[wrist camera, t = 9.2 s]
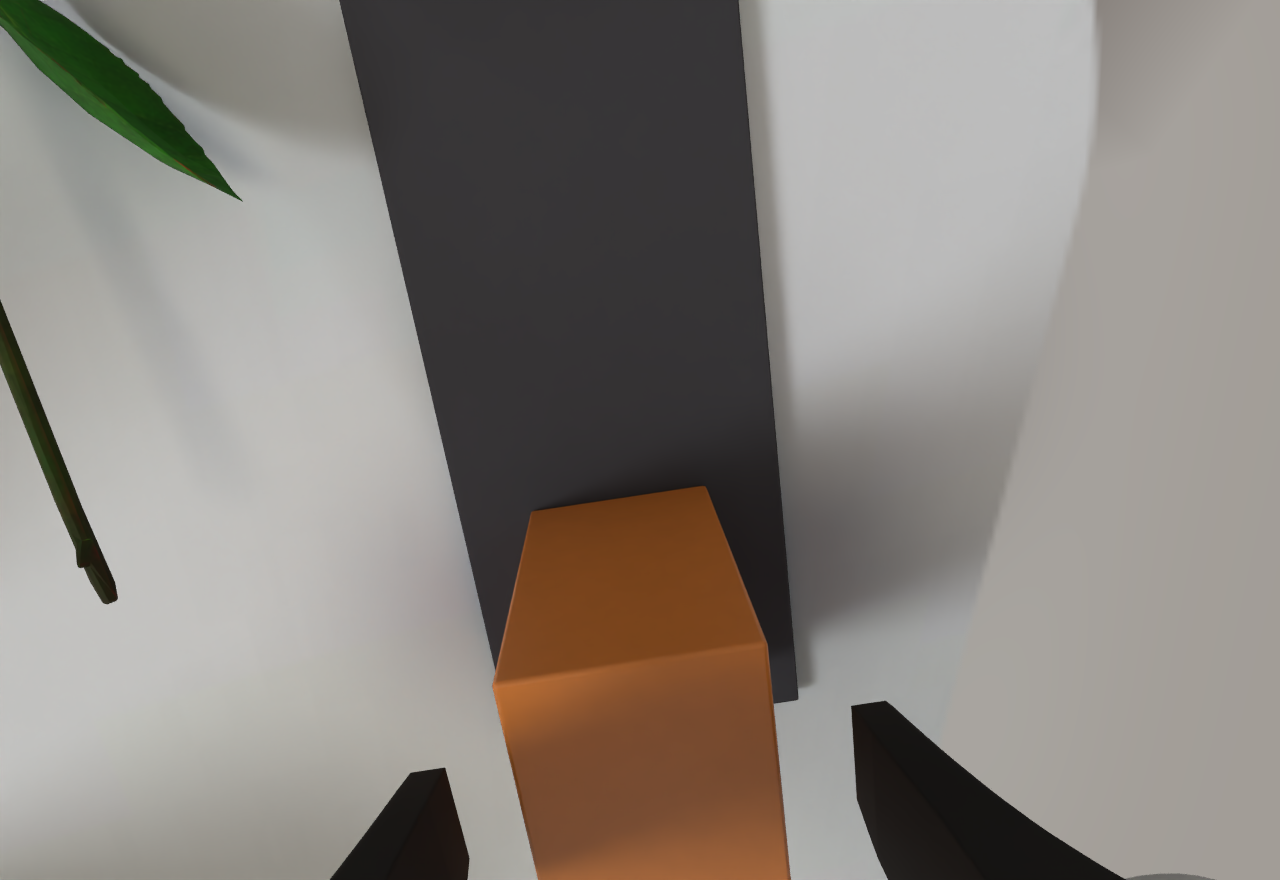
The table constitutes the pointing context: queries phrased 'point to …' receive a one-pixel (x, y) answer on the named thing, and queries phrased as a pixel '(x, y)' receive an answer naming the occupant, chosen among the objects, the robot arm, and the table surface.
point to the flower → (149, 126)
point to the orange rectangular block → (640, 697)
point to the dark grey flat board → (582, 266)
